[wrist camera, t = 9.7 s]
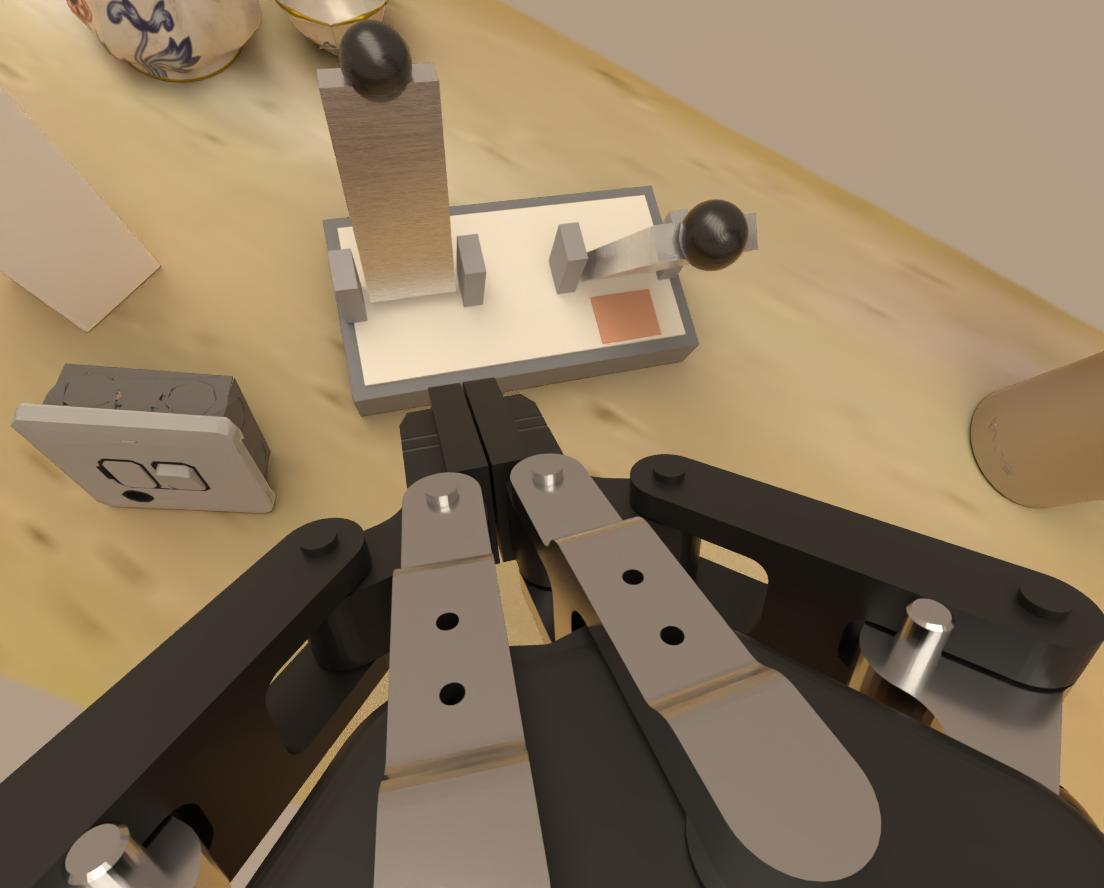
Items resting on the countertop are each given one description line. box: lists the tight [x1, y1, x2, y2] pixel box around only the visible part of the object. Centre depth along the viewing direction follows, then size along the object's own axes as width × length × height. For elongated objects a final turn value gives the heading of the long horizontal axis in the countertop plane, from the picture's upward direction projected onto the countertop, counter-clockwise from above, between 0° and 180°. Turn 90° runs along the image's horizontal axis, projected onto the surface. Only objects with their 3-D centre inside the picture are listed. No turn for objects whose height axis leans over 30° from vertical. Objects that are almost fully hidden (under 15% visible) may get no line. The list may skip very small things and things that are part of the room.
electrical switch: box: [11, 364, 276, 513], centre depth 31 cm, size 9×5×9 cm, turn 88°
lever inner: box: [581, 200, 758, 282], centre depth 32 cm, size 5×3×14 cm, turn 103°
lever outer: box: [316, 19, 456, 303], centre depth 30 cm, size 5×3×14 cm, turn 103°
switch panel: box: [323, 186, 699, 416], centre depth 38 cm, size 22×12×7 cm, turn 103°
